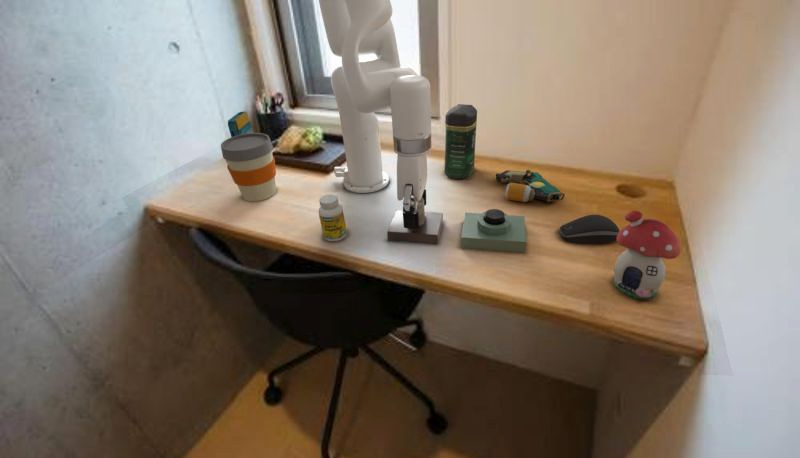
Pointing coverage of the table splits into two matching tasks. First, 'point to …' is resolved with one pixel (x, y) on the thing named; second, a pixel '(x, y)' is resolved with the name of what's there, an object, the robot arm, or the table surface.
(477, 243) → the green push button panel
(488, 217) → the button
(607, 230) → the computer mouse
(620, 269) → the decorative ornament
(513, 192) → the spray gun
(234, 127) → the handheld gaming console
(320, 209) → the supplement bottle
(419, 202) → the dial
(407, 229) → the dial panel
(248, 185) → the reusable coffee cup
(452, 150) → the coffee jar
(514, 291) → the table surface
